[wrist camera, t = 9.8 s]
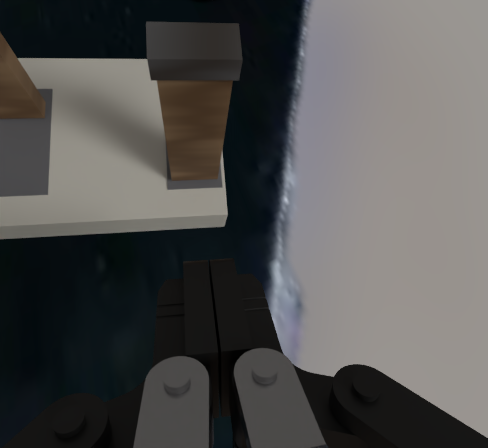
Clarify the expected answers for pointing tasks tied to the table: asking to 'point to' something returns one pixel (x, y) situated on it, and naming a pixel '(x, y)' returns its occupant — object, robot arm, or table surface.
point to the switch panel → (96, 157)
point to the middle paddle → (17, 88)
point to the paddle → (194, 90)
